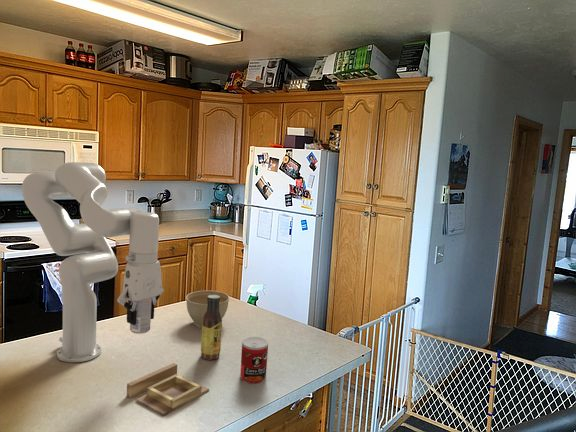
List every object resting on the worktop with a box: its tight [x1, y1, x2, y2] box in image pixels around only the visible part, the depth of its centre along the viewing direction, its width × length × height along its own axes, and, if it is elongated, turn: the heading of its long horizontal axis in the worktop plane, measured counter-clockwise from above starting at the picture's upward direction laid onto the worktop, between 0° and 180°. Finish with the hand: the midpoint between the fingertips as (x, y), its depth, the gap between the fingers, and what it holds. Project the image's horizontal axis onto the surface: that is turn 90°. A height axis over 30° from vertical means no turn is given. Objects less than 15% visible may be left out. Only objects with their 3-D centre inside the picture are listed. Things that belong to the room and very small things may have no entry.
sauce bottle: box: [200, 295, 223, 361], centre depth 144 cm, size 6×6×20 cm
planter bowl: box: [185, 290, 230, 329], centre depth 171 cm, size 16×16×11 cm
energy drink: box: [129, 298, 152, 335], centre depth 125 cm, size 5×5×12 cm
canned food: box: [240, 336, 269, 385], centre depth 133 cm, size 8×8×11 cm
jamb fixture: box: [126, 362, 210, 417], centre depth 121 cm, size 14×16×4 cm
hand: (140, 319), depth 126 cm, fingers closed on energy drink, 5 cm apart
